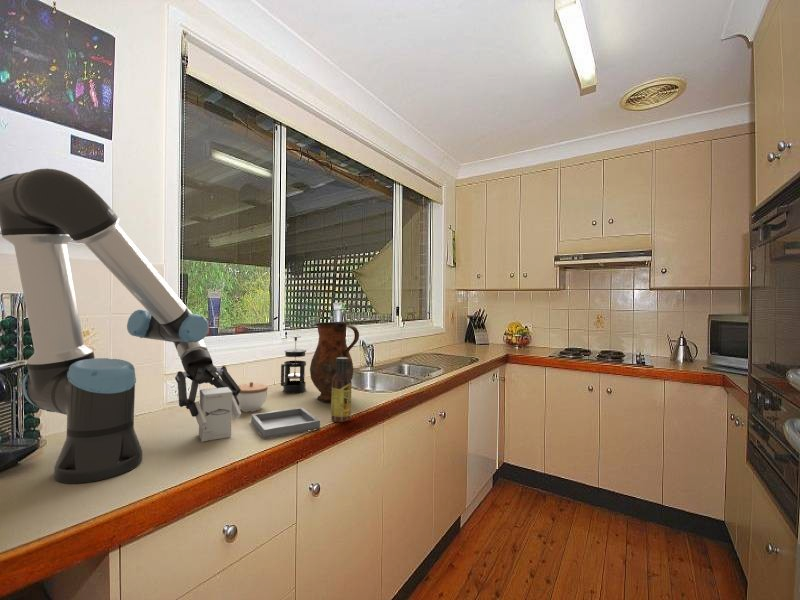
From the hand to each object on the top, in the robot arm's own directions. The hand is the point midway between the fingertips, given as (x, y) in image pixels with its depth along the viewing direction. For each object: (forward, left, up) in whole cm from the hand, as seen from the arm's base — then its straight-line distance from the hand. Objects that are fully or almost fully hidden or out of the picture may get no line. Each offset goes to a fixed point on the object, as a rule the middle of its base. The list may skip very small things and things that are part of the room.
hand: (221, 420), depth 102 cm
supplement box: (-1, +3, -5) cm, 6 cm away
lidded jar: (+13, +25, -5) cm, 29 cm away
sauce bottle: (+35, -1, -5) cm, 35 cm away
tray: (+18, +2, -5) cm, 19 cm away
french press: (+34, +44, -5) cm, 56 cm away
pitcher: (+43, +22, -5) cm, 48 cm away
